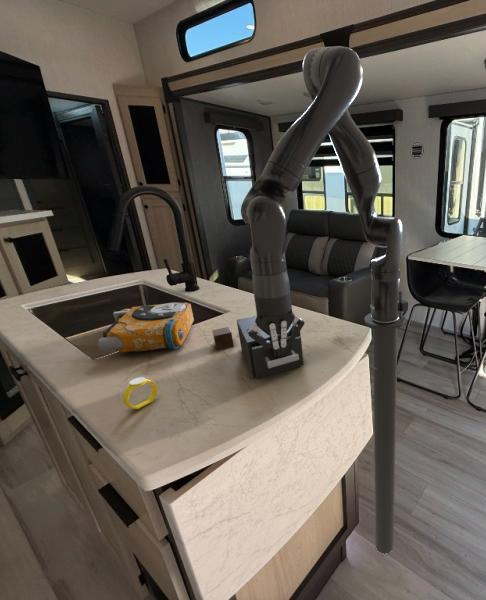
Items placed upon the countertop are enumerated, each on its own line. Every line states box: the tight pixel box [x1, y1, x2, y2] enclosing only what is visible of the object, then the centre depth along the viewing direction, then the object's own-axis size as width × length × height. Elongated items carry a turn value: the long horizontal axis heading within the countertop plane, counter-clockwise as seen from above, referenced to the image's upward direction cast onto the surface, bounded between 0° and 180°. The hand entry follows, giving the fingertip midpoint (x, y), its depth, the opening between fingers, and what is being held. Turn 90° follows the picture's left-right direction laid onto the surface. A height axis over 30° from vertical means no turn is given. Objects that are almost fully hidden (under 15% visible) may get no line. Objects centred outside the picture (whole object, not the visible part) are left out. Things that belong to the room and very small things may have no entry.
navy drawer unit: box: [236, 315, 302, 378], centre depth 85 cm, size 16×13×10 cm
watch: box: [122, 376, 159, 410], centre depth 67 cm, size 6×3×6 cm, turn 158°
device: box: [97, 302, 195, 353], centre depth 96 cm, size 23×8×30 cm
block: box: [211, 326, 235, 351], centre depth 92 cm, size 4×4×4 cm
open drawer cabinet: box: [251, 336, 304, 379], centre depth 81 cm, size 19×11×8 cm, turn 32°
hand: (280, 360), depth 75 cm, fingers closed
